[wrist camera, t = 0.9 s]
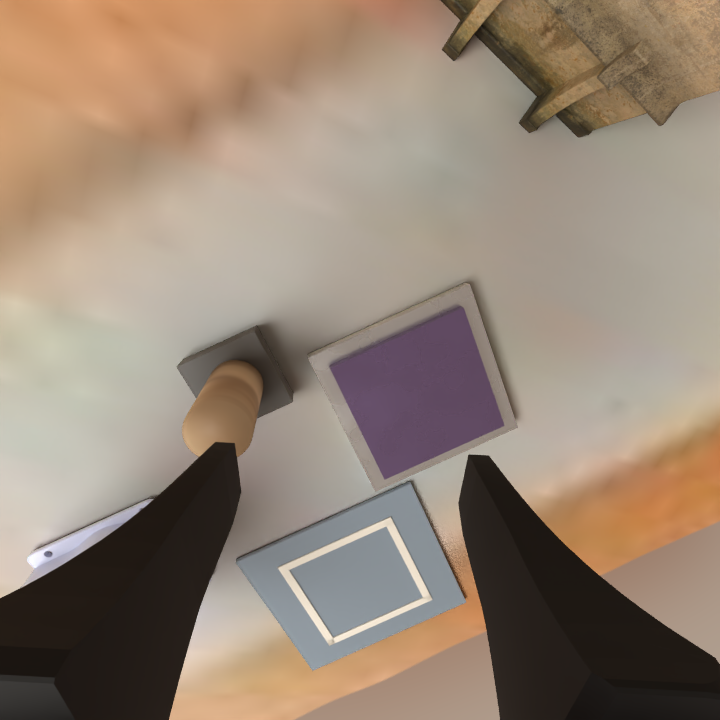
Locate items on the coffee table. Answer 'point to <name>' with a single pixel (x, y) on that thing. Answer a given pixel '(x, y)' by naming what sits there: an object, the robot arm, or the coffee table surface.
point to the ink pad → (416, 387)
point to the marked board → (355, 577)
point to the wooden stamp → (231, 391)
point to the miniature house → (598, 54)
